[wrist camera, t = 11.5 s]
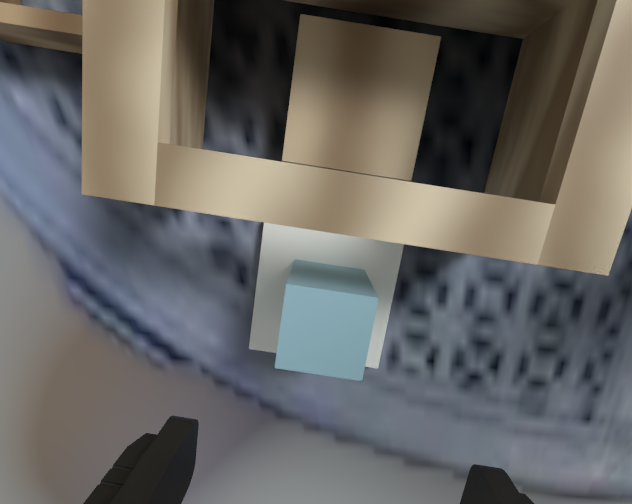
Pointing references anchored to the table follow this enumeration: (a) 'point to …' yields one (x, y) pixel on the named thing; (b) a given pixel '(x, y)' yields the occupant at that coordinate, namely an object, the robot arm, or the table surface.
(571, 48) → the frame
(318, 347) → the block
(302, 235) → the tile
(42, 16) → the corn rack
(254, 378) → the table surface
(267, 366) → the table surface
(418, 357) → the table surface
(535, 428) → the table surface
